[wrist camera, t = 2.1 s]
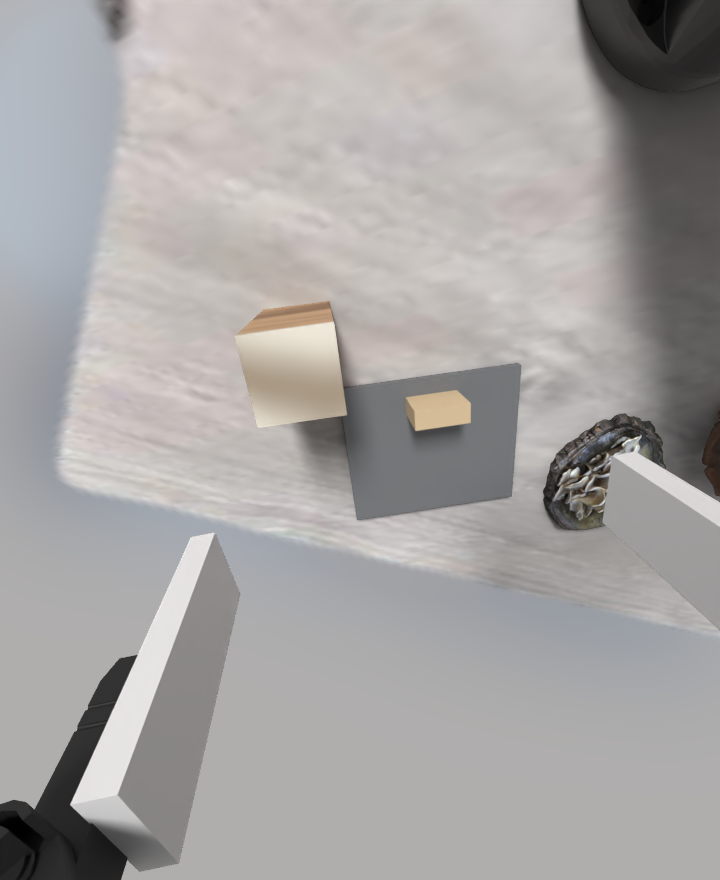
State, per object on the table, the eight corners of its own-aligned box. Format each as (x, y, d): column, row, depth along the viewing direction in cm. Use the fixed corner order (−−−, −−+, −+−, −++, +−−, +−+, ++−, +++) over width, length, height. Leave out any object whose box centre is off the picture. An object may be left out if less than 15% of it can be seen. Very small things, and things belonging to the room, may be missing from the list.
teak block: (263, 309, 26) (234, 336, 17) (328, 301, 26) (334, 323, 17) (277, 373, 28) (257, 428, 19) (337, 365, 28) (347, 415, 19)
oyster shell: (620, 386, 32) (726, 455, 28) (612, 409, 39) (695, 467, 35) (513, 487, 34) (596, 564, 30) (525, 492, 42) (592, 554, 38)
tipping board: (337, 388, 29) (340, 404, 26) (517, 363, 29) (542, 375, 26) (356, 515, 34) (360, 543, 31) (508, 492, 35) (528, 516, 31)
